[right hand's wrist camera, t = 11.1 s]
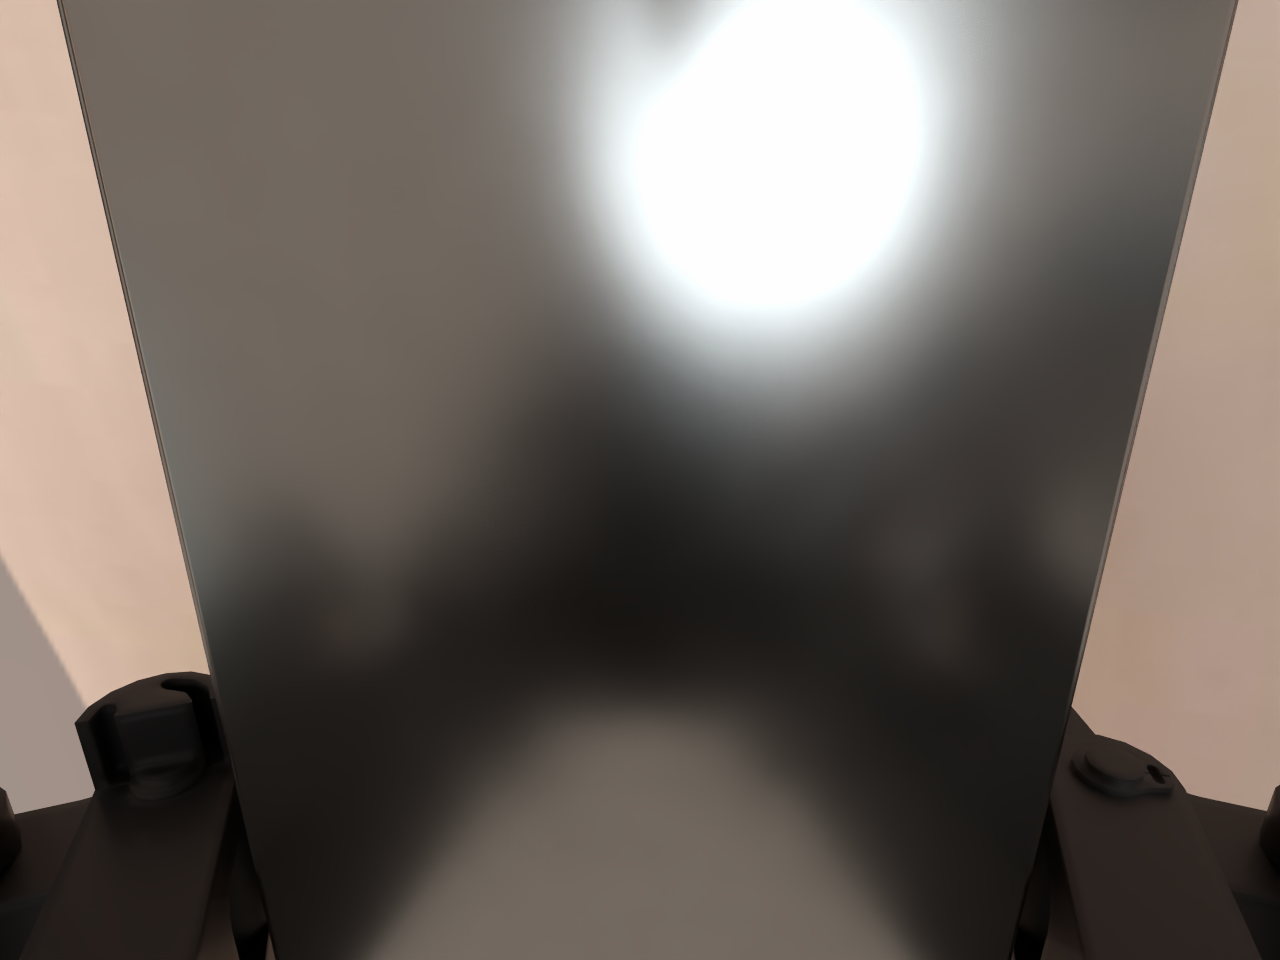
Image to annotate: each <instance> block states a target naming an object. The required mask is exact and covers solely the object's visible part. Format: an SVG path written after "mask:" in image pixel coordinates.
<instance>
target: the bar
mask: <svg viewBox="0 0 1280 960" xmlns="http://www.w3.org/2000/svg"><path fill="white" fill-rule="evenodd" d="M57 4H58V9H59V13H60V17H61V22H62V26H63V30H64V35H65V39H66V44H67V48H68V52H69V57H70V61H71V66H72V70H73V74H74V79H75V83H76V88H77V92H78V96H79V101H80V105H81V109H82V114H83V118H84V123H85V127H86V131H87V136H88V140H89V145H90V149H91V153H92V158H93V162H94V167H95V171H96V175H97V180H98V184H99V188H100V193H101V197H102V202H103V206H104V210H105V215H106V219H107V224H108V228H109V232H110V237H111V241H112V246H113V250H114V254H115V259H116V263H117V267H118V272H119V276H120V281H121V285H122V289H123V294H124V298H125V303H126V307H127V311H128V316H129V320H130V325H131V329H132V333H133V338H134V342H135V347H136V351H137V355H138V360H139V364H140V368H141V373H142V377H143V382H144V386H145V390H146V395H147V399H148V404H149V408H150V412H151V417H152V421H153V426H154V430H155V434H156V439H157V443H158V447H159V452H160V456H161V461H162V465H163V469H164V474H165V478H166V483H167V487H168V491H169V496H170V500H171V505H172V509H173V513H174V518H175V522H176V526H177V531H178V535H179V540H180V544H181V548H182V553H183V557H184V562H185V566H186V570H187V575H188V579H189V584H190V588H191V592H192V597H193V601H194V605H195V610H196V614H197V619H198V623H199V627H200V632H201V636H202V641H203V645H204V649H205V654H206V658H207V663H208V667H209V671H210V676H211V680H212V684H213V689H214V693H215V698H216V702H217V706H218V711H219V715H220V720H221V724H222V728H223V733H224V737H225V741H226V746H227V750H228V755H229V759H230V763H231V768H232V772H233V777H234V781H235V785H236V790H237V794H238V799H239V803H240V807H241V812H242V816H243V820H244V825H245V829H246V834H247V838H248V842H249V847H250V851H251V856H252V860H253V864H254V869H255V873H256V878H257V882H258V886H259V891H260V895H261V900H262V904H263V908H264V913H265V917H266V921H267V926H268V930H269V935H270V939H271V943H272V948H273V952H274V957H275V960H1011V959H1012V955H1013V951H1014V946H1015V942H1016V938H1017V934H1018V929H1019V925H1020V921H1021V917H1022V913H1023V908H1024V904H1025V900H1026V896H1027V891H1028V887H1029V883H1030V879H1031V875H1032V870H1033V866H1034V862H1035V858H1036V853H1037V849H1038V845H1039V841H1040V837H1041V832H1042V828H1043V824H1044V820H1045V815H1046V811H1047V807H1048V803H1049V798H1050V794H1051V790H1052V786H1053V782H1054V777H1055V773H1056V769H1057V765H1058V760H1059V756H1060V752H1061V748H1062V744H1063V739H1064V735H1065V731H1066V727H1067V722H1068V718H1069V714H1070V710H1071V706H1072V701H1073V697H1074V693H1075V689H1076V684H1077V680H1078V676H1079V672H1080V667H1081V663H1082V659H1083V655H1084V651H1085V646H1086V642H1087V638H1088V634H1089V629H1090V625H1091V621H1092V617H1093V613H1094V608H1095V604H1096V600H1097V596H1098V591H1099V587H1100V583H1101V579H1102V575H1103V570H1104V566H1105V562H1106V558H1107V553H1108V549H1109V545H1110V541H1111V536H1112V532H1113V528H1114V524H1115V520H1116V515H1117V511H1118V507H1119V503H1120V498H1121V494H1122V490H1123V486H1124V482H1125V477H1126V473H1127V469H1128V465H1129V460H1130V456H1131V452H1132V448H1133V444H1134V439H1135V435H1136V431H1137V427H1138V422H1139V418H1140V414H1141V410H1142V405H1143V401H1144V397H1145V393H1146V389H1147V384H1148V380H1149V376H1150V372H1151V367H1152V363H1153V359H1154V355H1155V351H1156V346H1157V342H1158V338H1159V334H1160V329H1161V325H1162V321H1163V317H1164V313H1165V308H1166V304H1167V300H1168V296H1169V291H1170V287H1171V283H1172V279H1173V274H1174V270H1175V266H1176V262H1177V258H1178V253H1179V249H1180V245H1181V241H1182V236H1183V232H1184V228H1185V224H1186V220H1187V215H1188V211H1189V207H1190V203H1191V198H1192V194H1193V190H1194V186H1195V182H1196V177H1197V173H1198V169H1199V165H1200V160H1201V156H1202V152H1203V148H1204V143H1205V139H1206V135H1207V131H1208V127H1209V122H1210V118H1211V114H1212V110H1213V105H1214V101H1215V97H1216V93H1217V89H1218V84H1219V80H1220V76H1221V72H1222V67H1223V63H1224V59H1225V55H1226V51H1227V46H1228V42H1229V38H1230V34H1231V29H1232V25H1233V21H1234V17H1235V12H1236V8H1237V4H1238V0H57Z"/></svg>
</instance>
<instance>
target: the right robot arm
mask: <svg viewBox="0 0 1280 960" xmlns="http://www.w3.org/2000/svg"><path fill="white" fill-rule="evenodd" d="M75 726H76V729H77V733H78V736H79V739H80V742H81V746H82V749H83V752H84V755H85V758H86V762H87V765H88V768H89V771H90V775H91V778H92V781H93V784H94V787H95V792H94V794H93V796H92V797H90V798H87V799H83V800H79V801H75V802H70V803H66V804H61V805H56V806H51V807H47V808H42V809H38V810H33V811H28V812H24V813H19V814H14V813H13V810H12V807H11V804H10V802H9V799H8V796H7V793H6V791H5V790H3V789H2V788H1V787H0V960H275V957H274V952H273V948H272V943H271V939H270V935H269V930H268V926H267V921H266V917H265V913H264V908H263V904H262V900H261V895H260V891H259V886H258V882H257V878H256V873H255V869H254V864H253V860H252V856H251V851H250V847H249V842H248V838H247V834H246V829H245V825H244V820H243V816H242V812H241V807H240V803H239V799H238V794H237V790H236V785H235V781H234V777H233V772H232V768H231V763H230V759H229V755H228V750H227V746H226V741H225V737H224V733H223V728H222V724H221V720H220V715H219V711H218V706H217V702H216V698H215V693H214V689H213V684H212V680H211V676H210V675H207V674H202V673H196V672H178V673H165V674H161V675H157V676H153V677H150V678H146V679H142V680H138V681H135V682H133V683H131V684H129V685H126V686H124V687H122V688H119V689H117V690H115V691H112V692H110V693H109V694H107V695H106V696H104V697H103V698H101V699H100V700H98V701H97V702H95V703H94V704H92V705H91V706H89V707H88V708H87V709H86V710H85V712H84V713H83V714H82V715H81V716H80V717H79V719H78V720H77V721H76V722H75ZM1011 960H1280V785H1279V786H1277V787H1276V788H1275V791H1274V793H1273V796H1272V799H1271V802H1270V804H1269V807H1268V810H1267V811H1263V810H1258V809H1254V808H1249V807H1244V806H1240V805H1235V804H1230V803H1226V802H1221V801H1216V800H1212V799H1207V798H1202V797H1198V796H1195V795H1191V794H1188V793H1187V792H1186V790H1185V788H1184V787H1183V786H1182V784H1181V783H1180V782H1179V780H1178V779H1177V778H1176V776H1175V775H1174V774H1173V772H1172V771H1171V770H1169V769H1168V768H1167V767H1166V766H1164V765H1163V764H1162V763H1160V762H1159V761H1158V760H1156V759H1155V758H1154V757H1152V756H1151V755H1149V754H1147V753H1145V752H1143V751H1141V750H1139V749H1137V748H1135V747H1133V746H1131V745H1129V744H1127V743H1125V742H1121V741H1118V740H1114V739H1111V738H1107V737H1104V736H1100V735H1095V734H1094V733H1093V731H1092V730H1091V729H1090V728H1089V727H1088V725H1087V724H1086V723H1085V722H1084V721H1083V720H1082V718H1081V717H1080V716H1079V715H1078V714H1077V712H1076V711H1075V710H1074V709H1073V708H1072V707H1071V710H1070V714H1069V718H1068V722H1067V727H1066V731H1065V735H1064V739H1063V744H1062V748H1061V752H1060V756H1059V760H1058V765H1057V769H1056V773H1055V777H1054V782H1053V786H1052V790H1051V794H1050V798H1049V803H1048V807H1047V811H1046V815H1045V820H1044V824H1043V828H1042V832H1041V837H1040V841H1039V845H1038V849H1037V853H1036V858H1035V862H1034V866H1033V870H1032V875H1031V879H1030V883H1029V887H1028V891H1027V896H1026V900H1025V904H1024V908H1023V913H1022V917H1021V921H1020V925H1019V929H1018V934H1017V938H1016V942H1015V946H1014V951H1013V955H1012V959H1011Z"/></svg>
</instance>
